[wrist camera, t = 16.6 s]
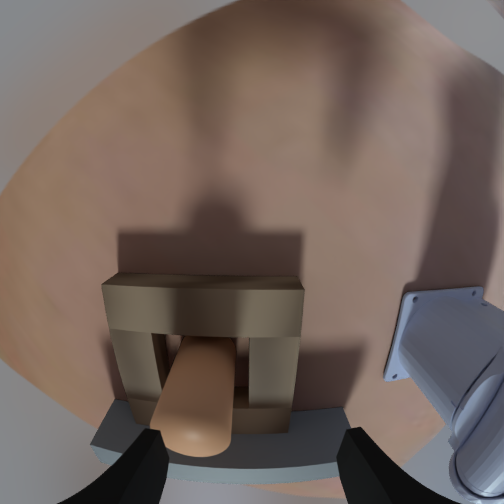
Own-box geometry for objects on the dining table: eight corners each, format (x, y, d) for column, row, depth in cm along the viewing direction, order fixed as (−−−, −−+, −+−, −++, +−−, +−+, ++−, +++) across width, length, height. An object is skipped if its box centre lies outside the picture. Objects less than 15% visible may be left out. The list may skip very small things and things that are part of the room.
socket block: (296, 276, 18) (304, 289, 15) (284, 411, 20) (287, 433, 18) (117, 272, 17) (101, 284, 15) (144, 404, 20) (135, 423, 18)
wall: (342, 406, 20) (362, 456, 15) (336, 424, 21) (353, 473, 15) (114, 399, 20) (89, 444, 14) (121, 417, 21) (100, 461, 15)
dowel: (238, 331, 18) (233, 414, 11) (233, 376, 19) (228, 460, 12) (180, 324, 18) (145, 401, 11) (180, 369, 19) (154, 449, 11)
